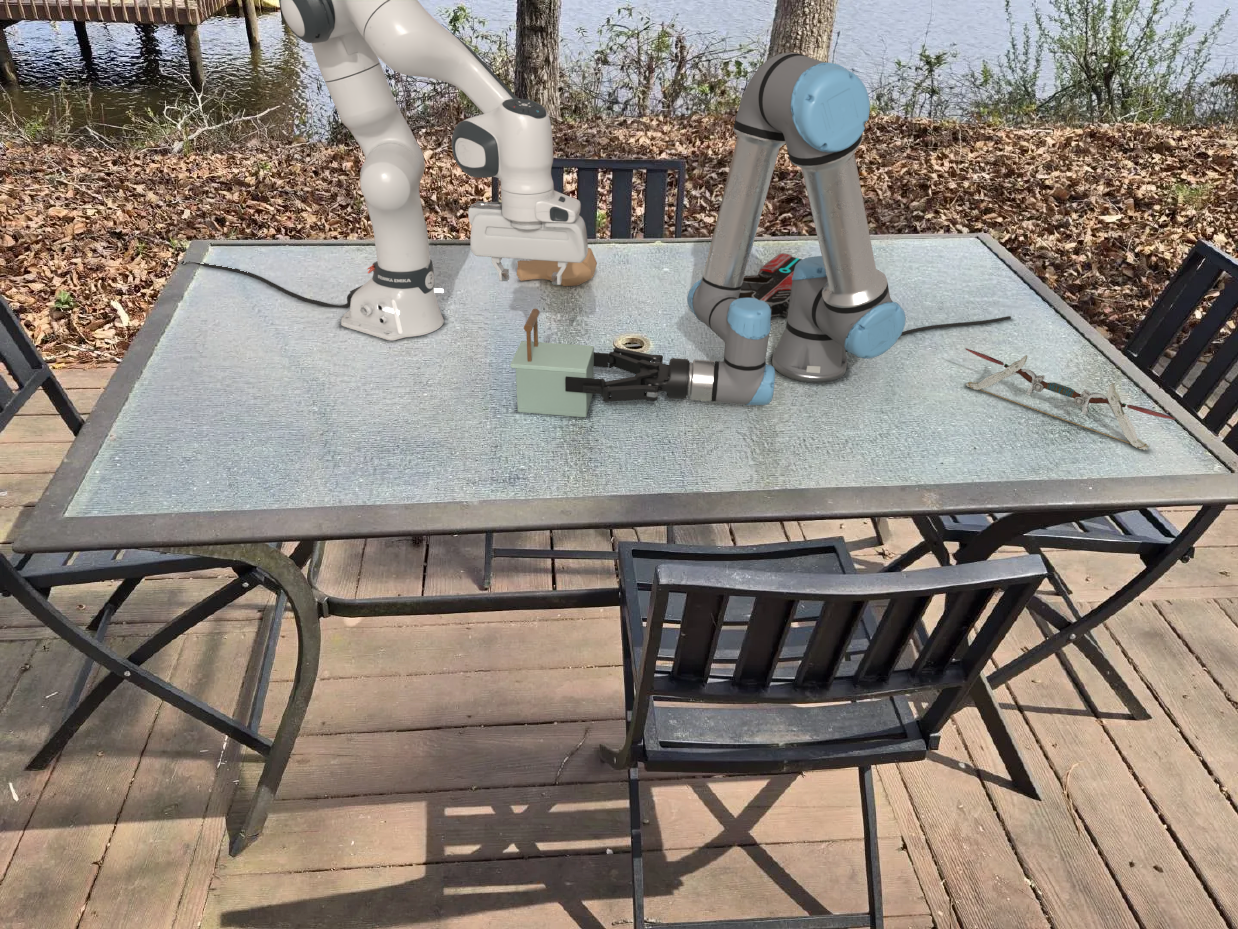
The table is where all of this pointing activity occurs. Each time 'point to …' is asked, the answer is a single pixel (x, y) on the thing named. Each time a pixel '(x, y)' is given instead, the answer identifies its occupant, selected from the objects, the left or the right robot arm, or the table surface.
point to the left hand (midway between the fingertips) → (530, 281)
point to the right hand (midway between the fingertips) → (570, 370)
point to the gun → (772, 283)
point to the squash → (570, 275)
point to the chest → (551, 392)
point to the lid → (550, 352)
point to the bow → (1079, 399)
